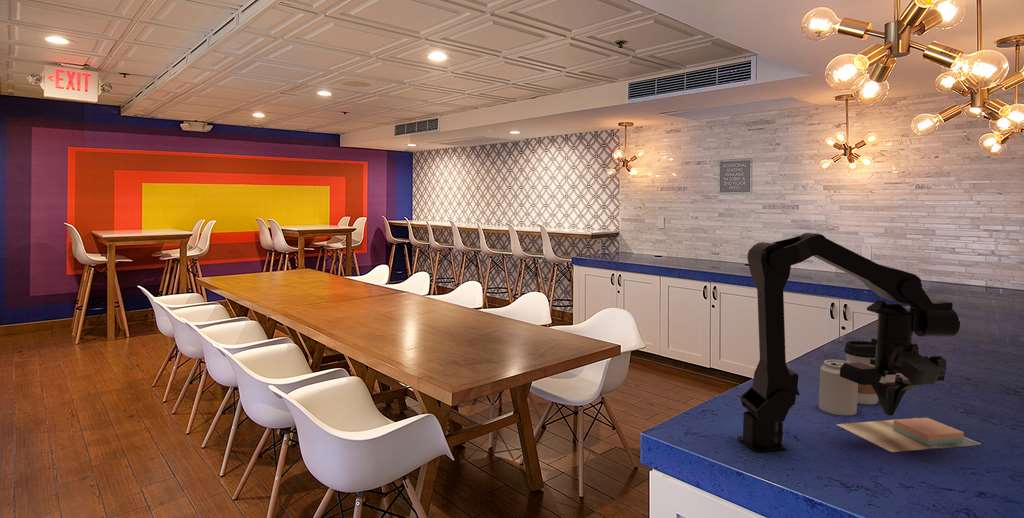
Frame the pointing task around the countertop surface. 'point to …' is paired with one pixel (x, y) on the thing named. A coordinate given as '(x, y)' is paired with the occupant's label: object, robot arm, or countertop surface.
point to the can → (837, 390)
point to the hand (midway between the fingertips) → (889, 414)
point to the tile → (928, 431)
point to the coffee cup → (863, 354)
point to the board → (894, 436)
